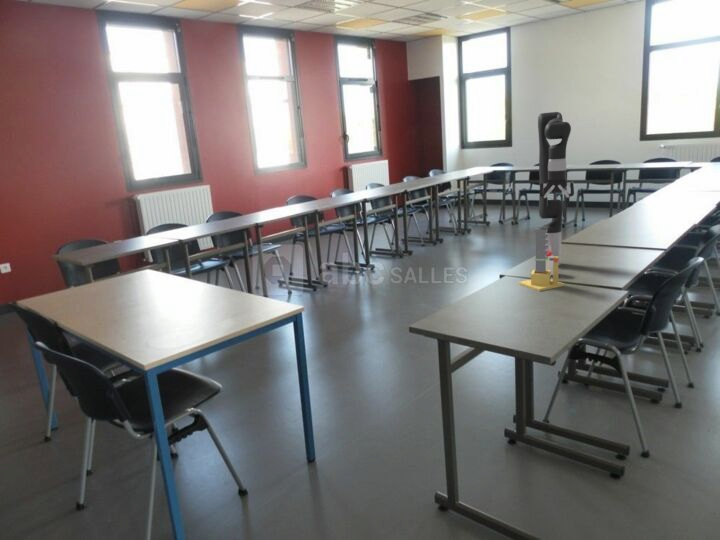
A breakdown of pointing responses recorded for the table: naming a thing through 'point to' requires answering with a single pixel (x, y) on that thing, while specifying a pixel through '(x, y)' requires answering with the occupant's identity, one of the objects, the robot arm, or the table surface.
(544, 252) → the column
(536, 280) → the stand base
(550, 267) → the pill bottle
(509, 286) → the table surface
